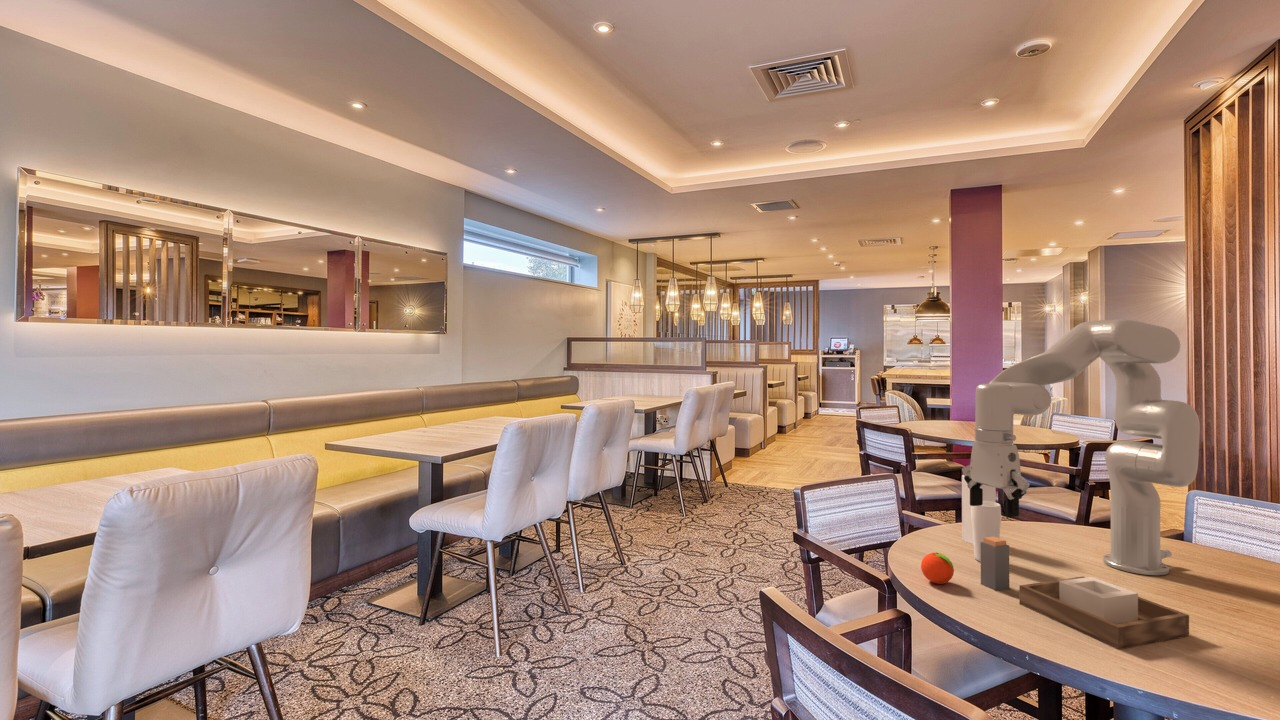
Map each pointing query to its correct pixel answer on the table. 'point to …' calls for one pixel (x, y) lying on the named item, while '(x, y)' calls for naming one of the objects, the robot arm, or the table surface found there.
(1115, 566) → the robot arm
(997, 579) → the plug
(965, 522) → the milk
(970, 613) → the table surface
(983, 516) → the drinking glass
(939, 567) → the clementine
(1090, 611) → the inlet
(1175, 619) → the crate
